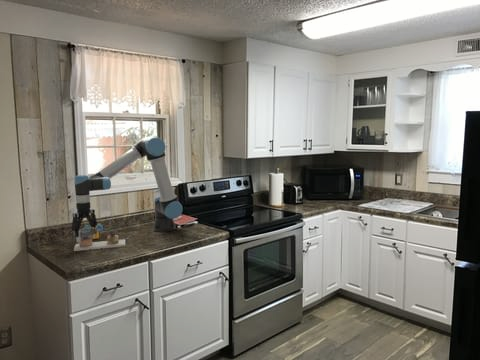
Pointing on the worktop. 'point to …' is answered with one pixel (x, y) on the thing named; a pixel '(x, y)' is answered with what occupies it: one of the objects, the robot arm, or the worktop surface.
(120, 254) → the worktop surface
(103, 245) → the board
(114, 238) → the stand
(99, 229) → the tube with blue rings
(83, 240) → the peg
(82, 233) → the square frame with hole
